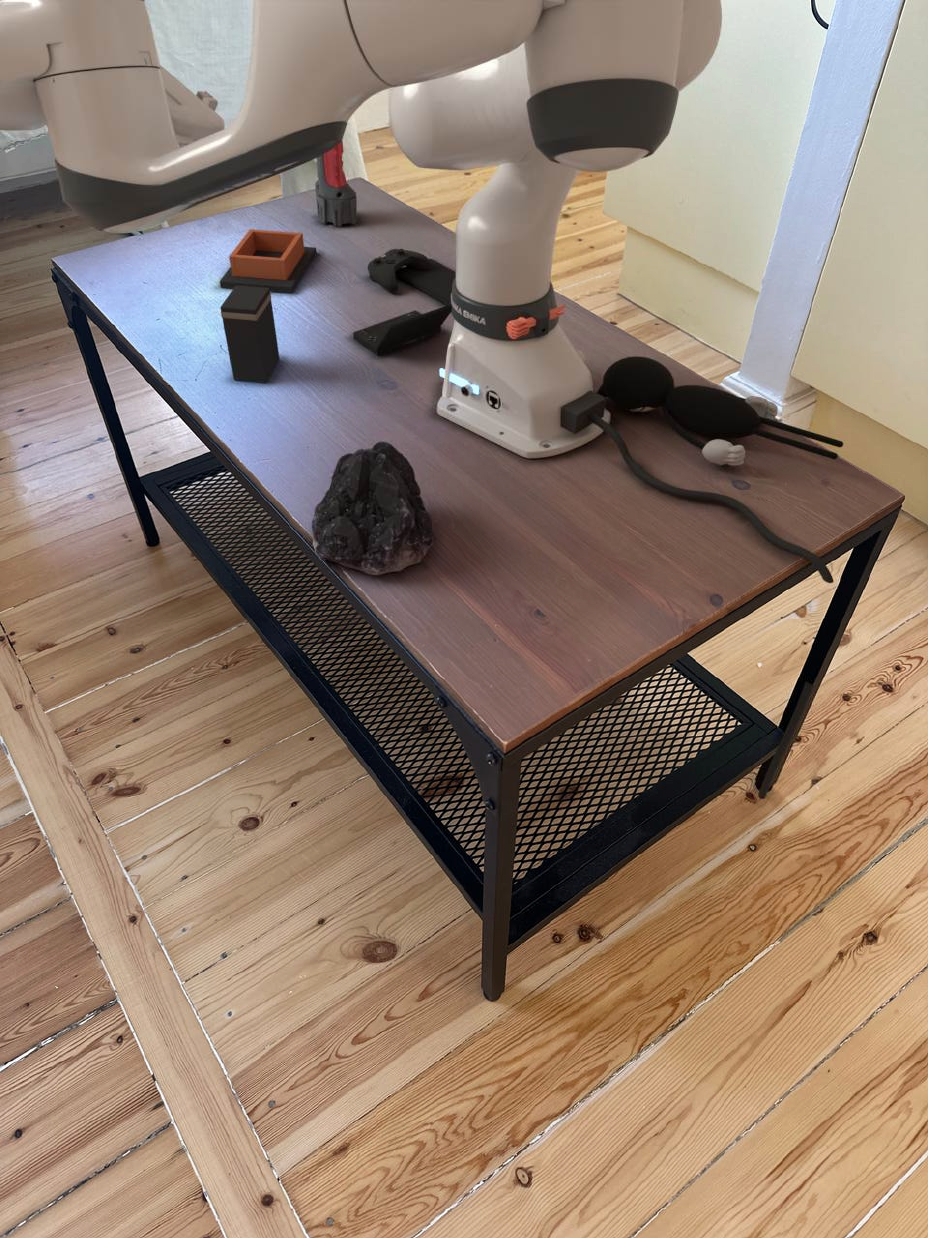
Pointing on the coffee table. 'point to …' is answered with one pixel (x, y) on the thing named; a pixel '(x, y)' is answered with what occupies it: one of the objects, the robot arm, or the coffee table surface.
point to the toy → (700, 410)
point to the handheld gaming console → (402, 330)
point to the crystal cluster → (373, 513)
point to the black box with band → (250, 333)
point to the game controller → (395, 266)
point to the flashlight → (334, 190)
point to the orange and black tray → (269, 261)
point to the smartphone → (431, 280)
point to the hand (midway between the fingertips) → (174, 72)
